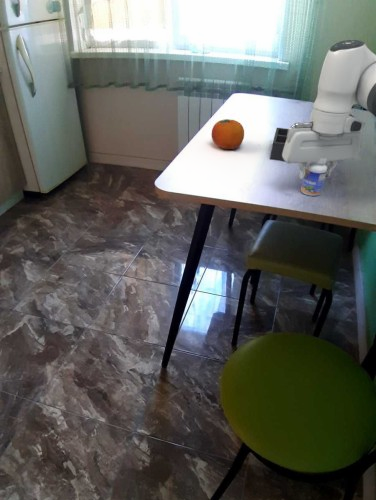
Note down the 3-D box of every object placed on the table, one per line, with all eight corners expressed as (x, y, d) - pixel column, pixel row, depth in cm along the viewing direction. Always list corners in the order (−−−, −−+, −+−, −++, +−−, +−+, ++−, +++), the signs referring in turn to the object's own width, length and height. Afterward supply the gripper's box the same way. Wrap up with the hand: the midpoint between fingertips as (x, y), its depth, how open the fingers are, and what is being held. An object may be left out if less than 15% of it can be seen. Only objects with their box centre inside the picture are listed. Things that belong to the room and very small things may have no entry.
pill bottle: (296, 191, 113) (304, 154, 106) (308, 186, 116) (317, 150, 109) (312, 198, 110) (322, 161, 103) (324, 193, 113) (334, 156, 106)
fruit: (246, 145, 138) (249, 119, 133) (237, 155, 131) (240, 128, 126) (216, 139, 141) (218, 114, 135) (206, 149, 134) (208, 122, 128)
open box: (297, 146, 139) (301, 130, 136) (295, 162, 128) (299, 145, 125) (273, 143, 141) (276, 127, 137) (269, 159, 130) (272, 142, 126)
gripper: (295, 127, 96) (283, 184, 106) (371, 123, 100) (353, 179, 110) (284, 119, 100) (273, 175, 110) (357, 116, 105) (341, 170, 114)
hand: (314, 177), depth 110 cm, fingers closed on pill bottle, 5 cm apart
